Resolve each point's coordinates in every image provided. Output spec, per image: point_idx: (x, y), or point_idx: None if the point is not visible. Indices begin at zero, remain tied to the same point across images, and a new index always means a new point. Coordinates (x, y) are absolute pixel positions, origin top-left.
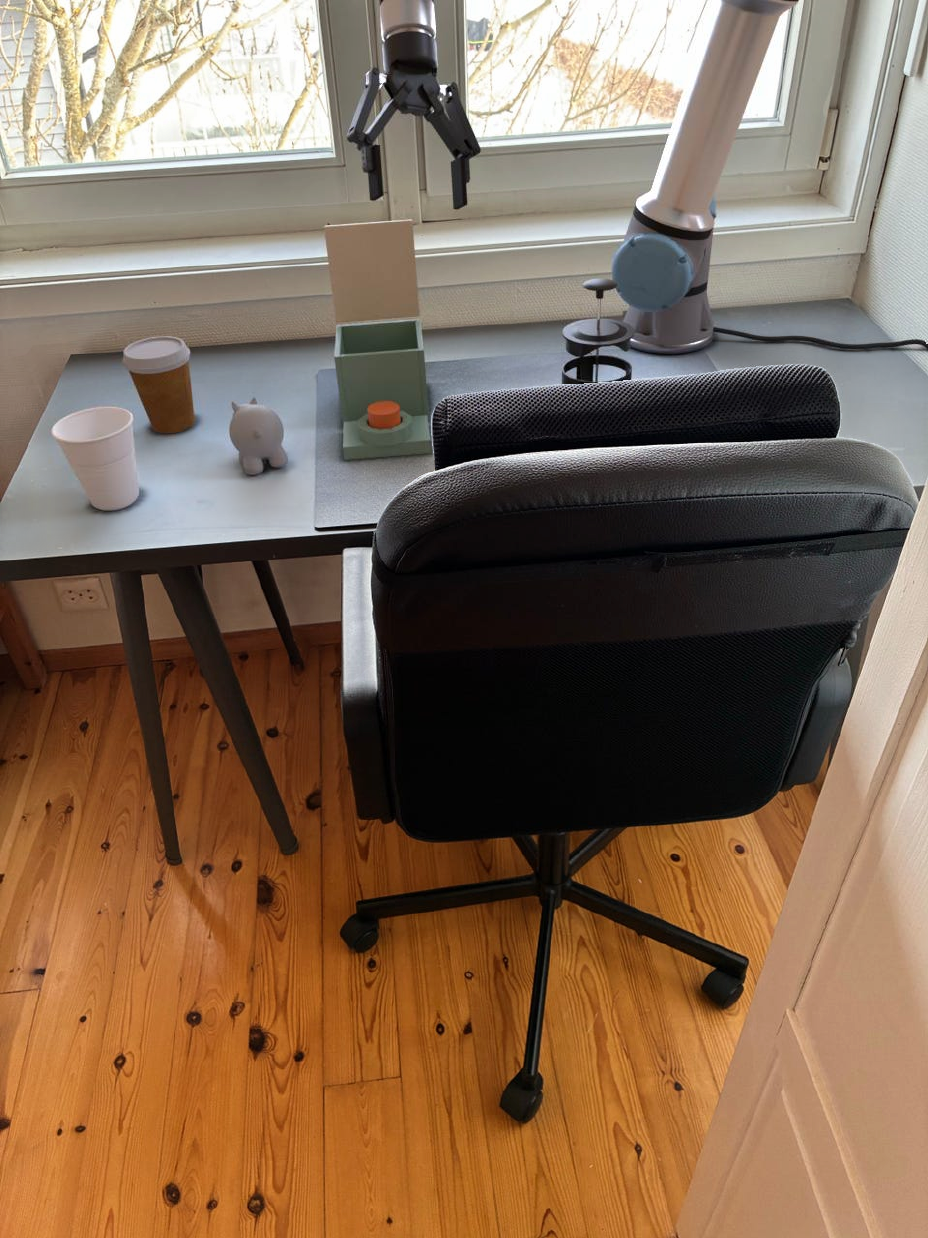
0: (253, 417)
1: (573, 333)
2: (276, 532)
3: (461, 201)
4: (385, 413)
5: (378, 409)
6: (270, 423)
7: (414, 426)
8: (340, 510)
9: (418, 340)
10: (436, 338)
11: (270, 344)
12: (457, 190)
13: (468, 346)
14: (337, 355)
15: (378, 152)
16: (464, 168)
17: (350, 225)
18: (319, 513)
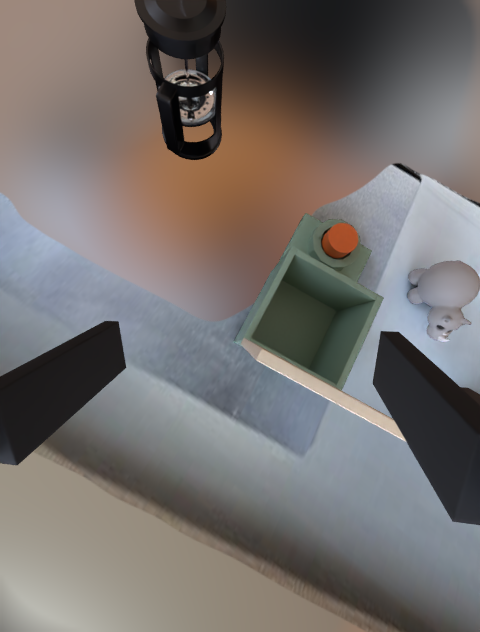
0: (469, 267)
1: (211, 13)
2: (444, 194)
3: (114, 331)
4: (347, 225)
5: (349, 237)
6: (450, 262)
7: (304, 243)
8: (397, 190)
9: (282, 275)
10: (146, 459)
11: (318, 576)
12: (95, 364)
13: (131, 410)
14: (379, 298)
15: (467, 406)
16: (23, 366)
17: (389, 417)
18: (411, 196)
